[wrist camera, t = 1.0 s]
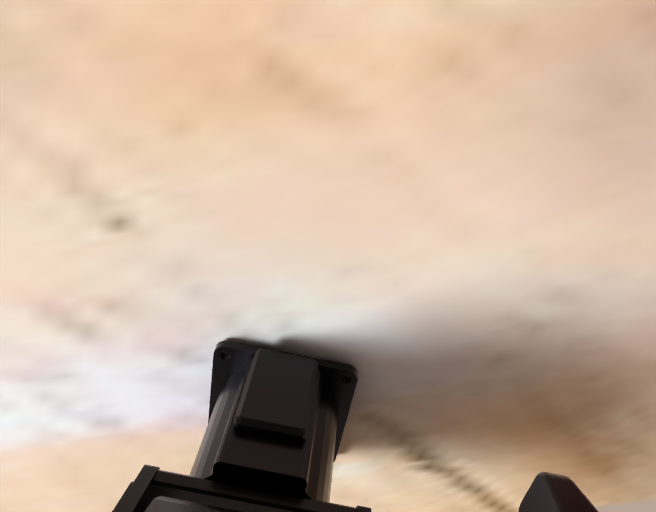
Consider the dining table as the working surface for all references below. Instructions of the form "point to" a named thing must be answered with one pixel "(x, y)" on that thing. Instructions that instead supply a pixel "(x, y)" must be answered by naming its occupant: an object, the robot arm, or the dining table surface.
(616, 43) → the dining table surface
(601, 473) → the dining table surface
